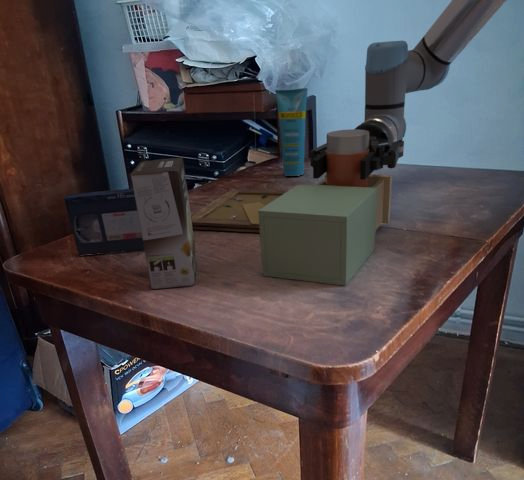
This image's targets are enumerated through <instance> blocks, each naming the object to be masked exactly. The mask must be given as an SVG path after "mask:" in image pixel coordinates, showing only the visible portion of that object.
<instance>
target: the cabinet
mask: <svg viewBox="0 0 524 480" xmlns="http://www.w3.org/2000/svg"><path fill="white" fill-rule="evenodd" d="M288 190H289V191H287V192H286V193H284V194H283V195H281V196H280V197H278V198H277V199H275V200H274V201H272V202H271V203H269V204H268V205H266V206H265V207H263V208H261V209H260V210H258V215H259V229H260V233H259V239H260V240H259V242H260V256H261V268H262V276H263V277H270V278H280V279H287V280H296V281H303V282H310V283H311V282H312V283H318V284H319V283H320V284H327V285H335V286H344V287H347V285H348V284H349V283H350V281H351V280H352V279H353V278H354V277H355V275H356V274H357V273H358V271H359V270H360V269H361V267H362V266H363V265H364V263H366V261H367V260H368V259H369V257H370V256H371V254H372V253H373V252H374V251H375V249H376V231H377V230H376V207H377V188H371V187H349V186H327V185H317V184H304V183H303V184H302V183H301V184H299V183H298V184H296V185H295V186H294V187H292V188H290V189H288Z"/></svg>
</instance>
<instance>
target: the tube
mask: <svg viewBox="0 0 524 480" xmlns="http://www.w3.org/2000/svg"><path fill="white" fill-rule="evenodd" d="M274 93H275V98H276V105H277V111H278V112H277V113H278V120H279V130H280V131H279V133H280V142H281V154H282V168H283V169H282V170H283V176H284V175H286V176H298V175H302V174H305V141H306V140H305V139H306V115H307V113H306V112H307V100H308V99H307V98H308V87H301V88H300V87H299V88H293V89H292V88H291V89H274ZM286 176H285V177H286Z"/></svg>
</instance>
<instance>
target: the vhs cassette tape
mask: <svg viewBox="0 0 524 480" xmlns="http://www.w3.org/2000/svg"><path fill="white" fill-rule="evenodd" d="M63 200H64V204H65V208H66V212H67V217H68V220H69V224H70V228H71V233H72V235H73V240H74V244H75V246H76V251H77V254H78V256H79V255H84V254H85V255H86V254H97V253H111V252H121V253H123V252H122V251H131V252H136V251H135V250H142V251H145V249H144V244H143V238H142V233H141V228H140V222H139V217H138V212H137V206H136V201H135V195H134V190H133V187H131V188H130V187H129V188H124V189H112V190H111V189H110V190H103V191H100V190H99V191H92V192H83V193H72V194H66V196H64V198H63Z"/></svg>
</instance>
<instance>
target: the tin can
mask: <svg viewBox="0 0 524 480" xmlns="http://www.w3.org/2000/svg"><path fill="white" fill-rule="evenodd" d="M326 143H327V151H326V173H325V174H326V181H327V186H349V187H368V177H367V178H366V179H365V180H362V179H360V170H361V160H362V159H363V158H364V157H365V156H366V155H368V154H369V131H367V130H358V129H355V128H354V129H352V128H351V129H339V130H332V131H329V132H327V133H326Z"/></svg>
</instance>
